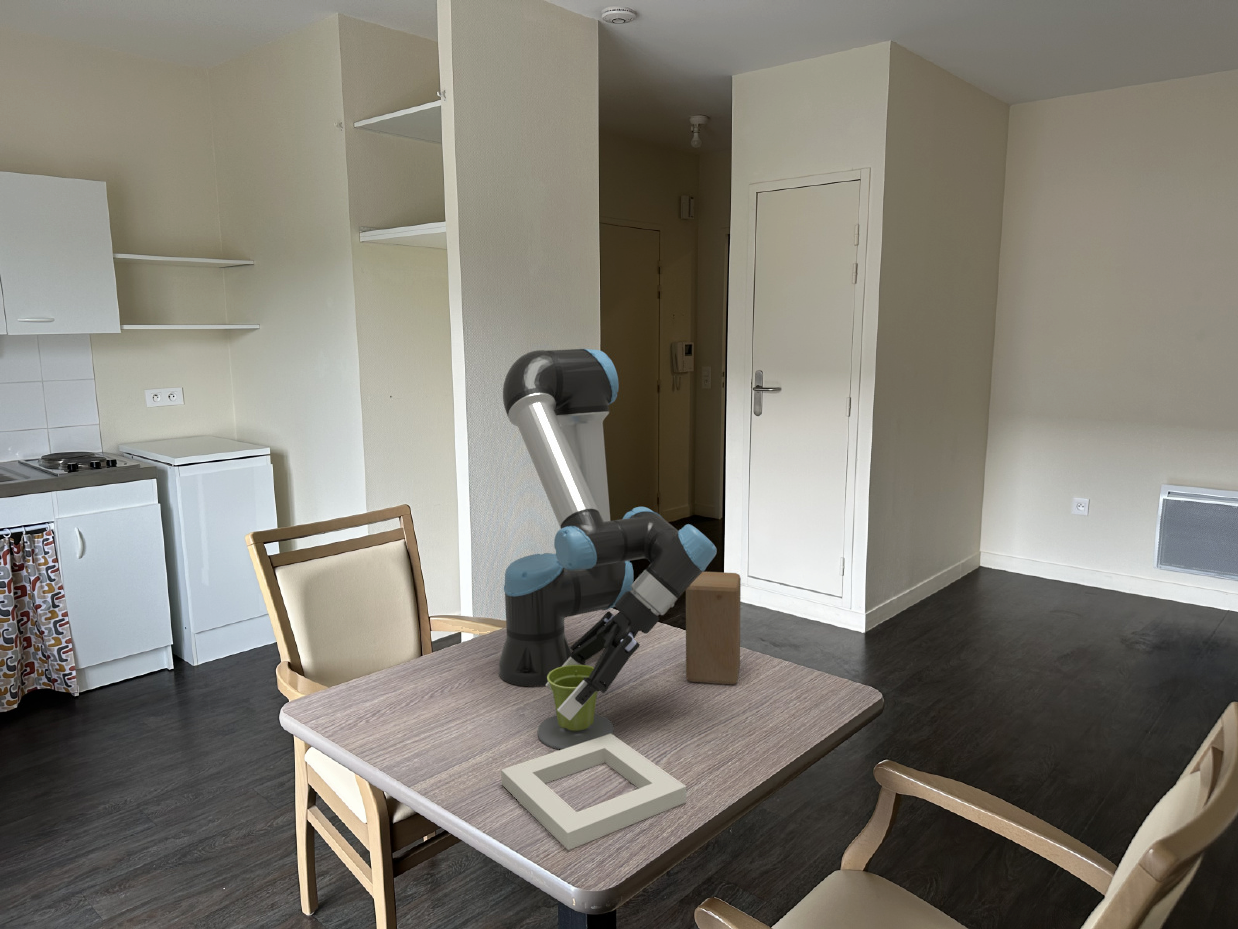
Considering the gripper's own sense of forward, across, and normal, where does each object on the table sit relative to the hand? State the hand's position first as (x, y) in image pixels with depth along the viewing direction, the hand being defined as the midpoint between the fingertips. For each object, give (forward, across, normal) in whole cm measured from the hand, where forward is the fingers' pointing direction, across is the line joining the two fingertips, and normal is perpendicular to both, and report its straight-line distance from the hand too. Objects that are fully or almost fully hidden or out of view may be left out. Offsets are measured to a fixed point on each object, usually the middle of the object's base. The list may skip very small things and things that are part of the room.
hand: (557, 702), depth 143 cm
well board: (+3, -20, -5) cm, 20 cm away
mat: (+2, 0, -6) cm, 7 cm away
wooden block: (-20, +16, -29) cm, 39 cm away
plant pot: (+1, 0, -5) cm, 5 cm away
